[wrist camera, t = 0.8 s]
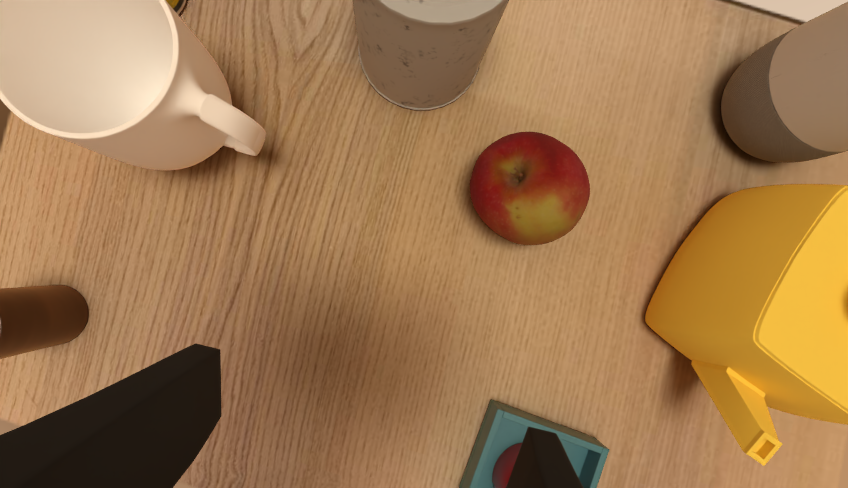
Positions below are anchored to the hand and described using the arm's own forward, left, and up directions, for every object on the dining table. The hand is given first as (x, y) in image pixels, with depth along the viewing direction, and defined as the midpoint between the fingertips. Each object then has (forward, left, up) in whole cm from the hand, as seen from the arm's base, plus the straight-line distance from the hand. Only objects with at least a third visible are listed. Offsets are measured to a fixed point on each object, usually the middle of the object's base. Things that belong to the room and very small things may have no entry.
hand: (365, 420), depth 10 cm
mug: (+12, +14, -23) cm, 29 cm away
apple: (+9, -9, -23) cm, 27 cm away
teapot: (+2, -27, -23) cm, 36 cm away
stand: (-2, +23, -23) cm, 32 cm away
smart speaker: (+18, -30, -23) cm, 42 cm away
